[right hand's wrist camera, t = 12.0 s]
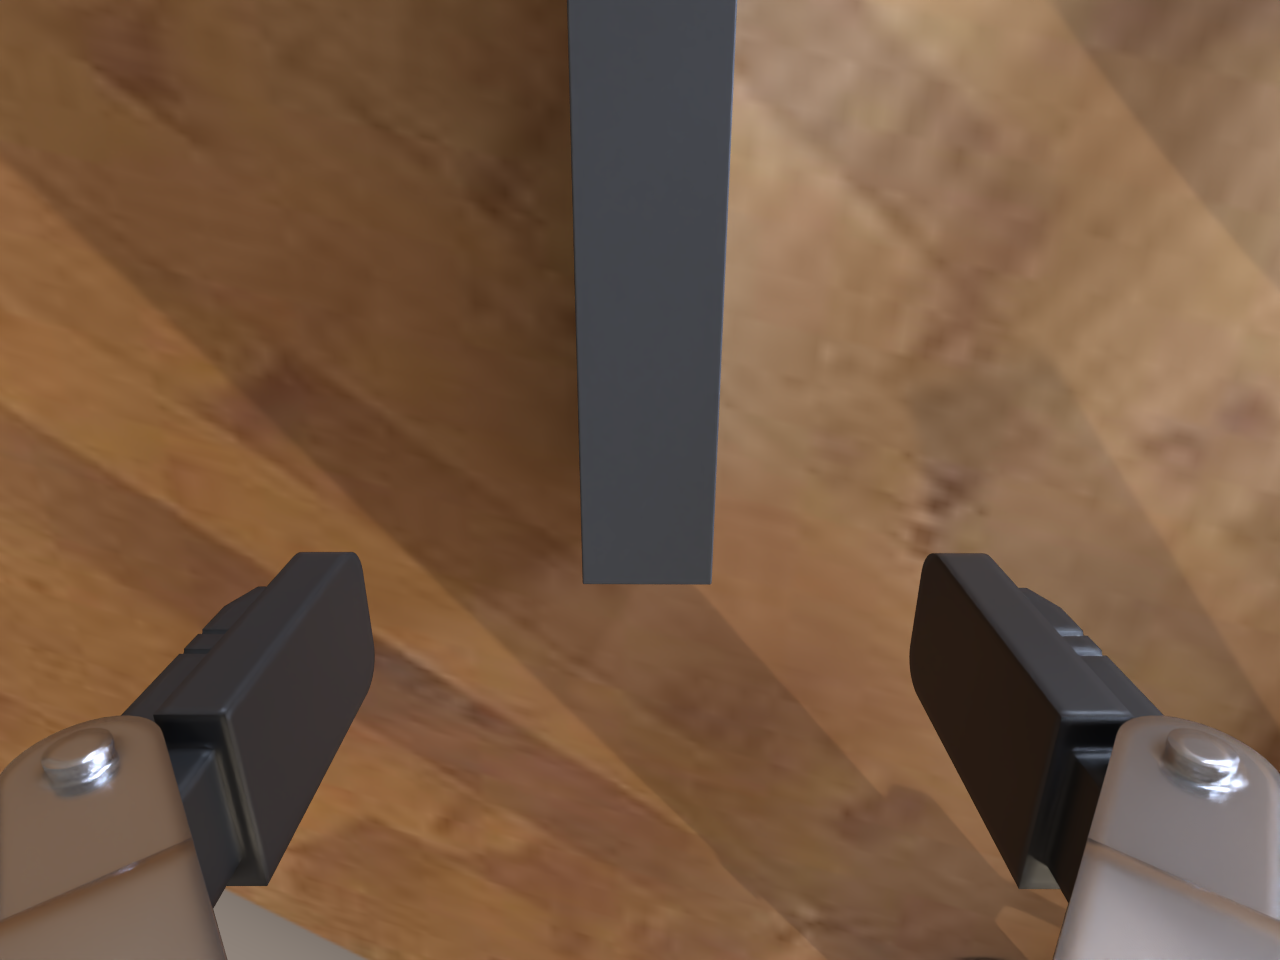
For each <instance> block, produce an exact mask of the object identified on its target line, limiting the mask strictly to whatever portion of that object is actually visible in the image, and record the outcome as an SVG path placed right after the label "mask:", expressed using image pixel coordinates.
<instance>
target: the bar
mask: <svg viewBox="0 0 1280 960" xmlns="http://www.w3.org/2000/svg"><path fill="white" fill-rule="evenodd" d="M736 12H737V0H567V16H568V53H569V90H570V127H571V164H572V202H573V239H574V276H575V313H576V350H577V387H578V424H579V462H580V499H581V536H582V573H583V584H711V581H712V559H713V536H714V513H715V490H716V467H717V445H718V422H719V399H720V376H721V354H722V331H723V308H724V285H725V262H726V240H727V217H728V194H729V171H730V149H731V126H732V103H733V80H734V58H735V35H736Z"/></svg>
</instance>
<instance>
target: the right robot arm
mask: <svg viewBox="0 0 1280 960" xmlns="http://www.w3.org/2000/svg"><path fill="white" fill-rule="evenodd" d="M202 630H203V632H202V634H198V635H197V636H196V637H195V638H194V639H193V640H192V641H191V642H190V643H189V644H188V645H187V646H186V647H185V648H184V654H179V655H178V656H177V657H176V658H175V659H174V660H173V661H172V662H171V663H170V664H169V665H168V666H167V667H166V669H165V670H164V671H163V672H162V673H161V674H160V675H159V676H158V677H157V678H156V679H155V680H154V681H153V682H152V683H151V684H150V685H149V686H148V688H147V689H146V690H145V691H144V692H143V693H142V694H141V695H140V696H139V697H138V698H137V699H136V700H135V701H134V702H133V703H132V704H131V705H130V707H129V708H128V709H127V710H126V711H125V712H124V713H123V714H122V715H121V716H111V717H104V718H99V719H94V720H90V721H87V722H83V723H80V724H77V725H74V726H71V727H69V728H66V729H63V730H61V731H59V732H57V733H55V734H52V735H50V736H48V737H46V738H45V739H43V740H41V741H39V742H37V743H36V744H34V745H33V746H31V747H30V748H28V749H27V750H25V751H24V752H22V753H21V754H20V755H19V756H17V757H16V758H15V759H14V760H13V761H12V762H11V763H10V764H9V765H8V766H7V767H6V768H5V769H4V770H3V771H2V773H1V774H0V960H227V957H226V953H225V949H224V946H223V942H222V939H221V935H220V932H219V928H218V925H217V921H216V918H215V914H214V911H213V908H214V906H215V905H216V903H217V901H218V899H219V898H220V896H221V894H222V892H223V891H224V889H225V887H226V886H267V885H268V883H269V881H270V879H271V878H272V876H273V874H274V872H275V870H276V868H277V866H278V864H279V862H280V860H281V858H282V856H283V854H284V853H285V851H286V849H287V847H288V845H289V843H290V841H291V839H292V837H293V835H294V833H295V831H296V829H297V827H298V826H299V824H300V822H301V820H302V818H303V816H304V814H305V812H306V810H307V808H308V806H309V804H310V802H311V801H312V799H313V797H314V795H315V793H316V791H317V789H318V787H319V785H320V783H321V781H322V779H323V777H324V775H325V774H326V772H327V770H328V768H329V766H330V764H331V762H332V760H333V758H334V756H335V754H336V752H337V750H338V749H339V747H340V745H341V743H342V741H343V739H344V737H345V735H346V733H347V731H348V729H349V727H350V725H351V723H352V722H353V720H354V718H355V716H356V714H357V712H358V710H359V708H360V706H361V704H362V702H363V700H364V698H365V696H366V695H367V693H368V690H369V688H370V685H371V681H372V677H373V671H374V658H375V654H374V642H373V636H372V629H371V623H370V616H369V609H368V603H367V596H366V590H365V583H364V576H363V570H362V565H361V562H360V560H359V557H358V556H357V555H356V554H355V553H353V552H299V553H297V554H296V555H295V556H294V557H293V558H292V559H291V560H290V561H289V562H288V563H287V565H286V566H285V567H284V568H283V569H282V570H281V571H280V572H279V574H278V575H277V576H276V577H275V578H274V579H273V580H272V581H271V582H270V584H269V585H268V586H267V587H257V588H255V589H253V590H251V591H250V592H248V593H246V594H245V595H243V596H241V597H240V598H238V599H236V600H234V601H233V602H231V603H229V604H228V605H226V606H224V607H223V608H222V609H221V610H220V612H219V613H218V614H217V615H216V616H215V617H214V618H213V619H212V620H211V621H210V622H209V623H208V624H207V625H206V626H205V627H204V628H203V629H202ZM909 657H910V672H911V678H912V682H913V686H914V689H915V692H916V694H917V696H918V698H919V700H920V701H921V703H922V705H923V707H924V709H925V711H926V713H927V715H928V717H929V719H930V721H931V722H932V724H933V726H934V728H935V730H936V732H937V734H938V736H939V738H940V740H941V741H942V743H943V745H944V747H945V749H946V751H947V753H948V755H949V757H950V759H951V760H952V762H953V764H954V766H955V768H956V770H957V772H958V774H959V776H960V778H961V780H962V781H963V783H964V785H965V787H966V789H967V791H968V793H969V795H970V797H971V799H972V800H973V802H974V804H975V806H976V808H977V810H978V812H979V814H980V816H981V818H982V819H983V821H984V823H985V825H986V827H987V829H988V831H989V833H990V835H991V837H992V839H993V840H994V842H995V844H996V846H997V848H998V850H999V852H1000V854H1001V856H1002V858H1003V859H1004V861H1005V863H1006V865H1007V867H1008V869H1009V871H1010V873H1011V875H1012V877H1013V878H1014V880H1015V882H1016V884H1017V886H1018V888H1019V889H1061V891H1062V893H1063V894H1064V896H1065V898H1066V899H1067V901H1068V903H1069V904H1068V907H1067V911H1066V914H1065V918H1064V921H1063V925H1062V928H1061V932H1060V935H1059V939H1058V942H1057V946H1056V949H1055V953H1054V957H1053V960H1280V774H1279V773H1278V771H1277V770H1276V769H1275V768H1274V767H1273V766H1272V765H1271V764H1270V763H1269V762H1268V761H1267V760H1266V759H1265V758H1264V757H1263V756H1261V755H1260V754H1259V753H1258V752H1256V751H1255V750H1253V749H1252V748H1250V747H1249V746H1247V745H1246V744H1244V743H1243V742H1241V741H1239V740H1237V739H1235V738H1234V737H1232V736H1230V735H1228V734H1225V733H1223V732H1221V731H1219V730H1217V729H1214V728H1211V727H1209V726H1206V725H1203V724H1200V723H1197V722H1193V721H1190V720H1186V719H1181V718H1176V717H1169V716H1164V715H1163V714H1162V713H1161V712H1160V711H1159V710H1158V709H1157V708H1156V707H1155V706H1154V705H1153V704H1152V703H1151V702H1150V701H1149V700H1148V699H1147V697H1146V696H1145V695H1144V694H1143V693H1142V692H1141V691H1140V690H1139V689H1138V688H1137V687H1136V686H1135V685H1134V684H1133V683H1132V682H1131V681H1130V680H1129V679H1128V678H1127V677H1126V676H1125V674H1124V673H1123V672H1122V671H1121V670H1120V669H1119V668H1118V667H1117V666H1116V665H1115V664H1114V663H1113V662H1112V661H1111V660H1110V659H1109V658H1108V657H1107V656H1102V650H1101V649H1100V648H1099V647H1098V646H1097V645H1096V644H1095V643H1094V642H1093V641H1092V640H1091V639H1090V638H1089V637H1088V636H1083V631H1082V629H1081V628H1080V627H1079V626H1078V625H1077V624H1076V623H1075V622H1074V621H1073V620H1072V619H1071V618H1070V617H1069V616H1068V615H1067V614H1066V613H1065V612H1064V611H1063V610H1062V609H1061V608H1060V607H1058V606H1057V605H1055V604H1053V603H1052V602H1050V601H1048V600H1046V599H1045V598H1043V597H1041V596H1040V595H1038V594H1036V593H1034V592H1033V591H1031V590H1029V589H1028V588H1018V587H1017V586H1016V585H1015V584H1014V583H1013V582H1012V580H1011V579H1010V578H1009V577H1008V576H1007V575H1006V574H1005V573H1004V572H1003V570H1002V569H1001V568H1000V567H999V566H998V565H997V564H996V563H995V562H994V560H993V559H992V558H991V557H990V556H989V555H987V554H983V553H932V554H929V555H928V556H927V558H926V559H925V562H924V564H923V568H922V573H921V579H920V586H919V592H918V599H917V605H916V612H915V618H914V625H913V631H912V638H911V644H910V656H909Z"/></svg>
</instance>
